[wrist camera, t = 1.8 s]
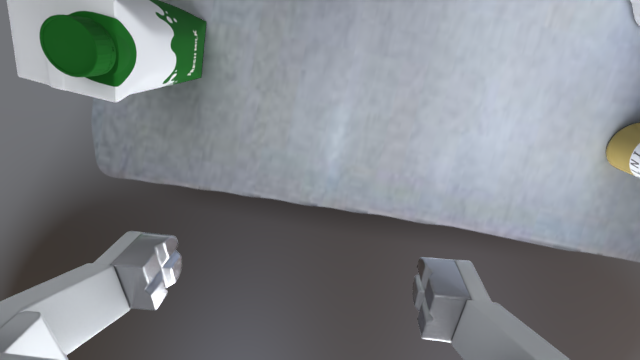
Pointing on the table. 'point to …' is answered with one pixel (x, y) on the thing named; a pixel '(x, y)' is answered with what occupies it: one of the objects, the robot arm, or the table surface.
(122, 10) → the milk carton
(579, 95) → the table surface
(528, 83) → the table surface
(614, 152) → the paper tube
